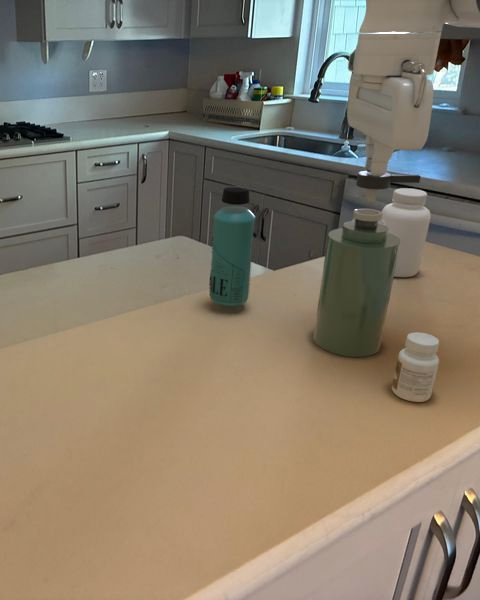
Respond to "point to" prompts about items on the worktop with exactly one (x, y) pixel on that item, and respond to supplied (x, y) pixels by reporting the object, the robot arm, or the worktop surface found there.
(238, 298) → the beverage bottle
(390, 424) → the worktop surface
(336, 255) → the dispenser
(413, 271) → the pill bottle
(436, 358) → the pill bottle
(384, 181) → the pump head
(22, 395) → the worktop surface
